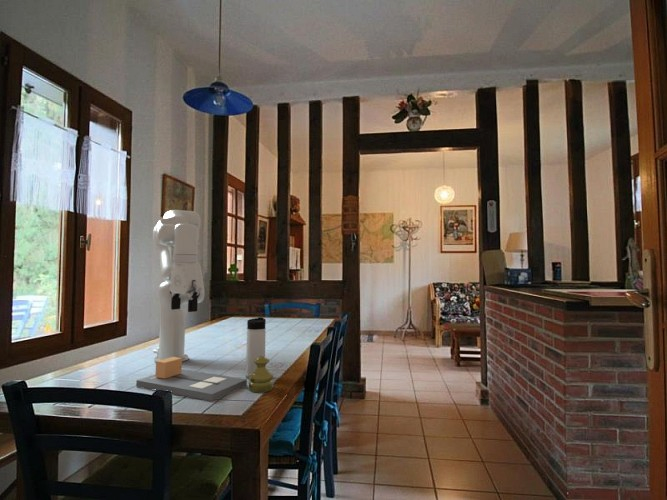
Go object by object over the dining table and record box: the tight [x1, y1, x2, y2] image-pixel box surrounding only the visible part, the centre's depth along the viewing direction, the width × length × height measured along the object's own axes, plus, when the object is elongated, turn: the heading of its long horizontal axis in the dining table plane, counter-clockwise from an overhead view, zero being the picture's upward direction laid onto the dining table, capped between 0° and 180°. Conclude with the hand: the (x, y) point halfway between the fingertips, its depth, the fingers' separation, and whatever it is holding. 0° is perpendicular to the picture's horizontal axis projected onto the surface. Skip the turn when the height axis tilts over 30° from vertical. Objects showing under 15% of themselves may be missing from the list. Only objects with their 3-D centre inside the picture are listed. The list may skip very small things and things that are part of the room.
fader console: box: [135, 368, 248, 402], centre depth 122 cm, size 30×16×2 cm, turn 66°
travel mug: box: [245, 317, 267, 380], centre depth 133 cm, size 6×7×20 cm
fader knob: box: [154, 357, 183, 379], centre depth 126 cm, size 4×7×5 cm, turn 156°
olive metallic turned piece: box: [248, 356, 274, 394], centre depth 120 cm, size 7×7×10 cm
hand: (184, 310), depth 132 cm, fingers open, 9 cm apart
